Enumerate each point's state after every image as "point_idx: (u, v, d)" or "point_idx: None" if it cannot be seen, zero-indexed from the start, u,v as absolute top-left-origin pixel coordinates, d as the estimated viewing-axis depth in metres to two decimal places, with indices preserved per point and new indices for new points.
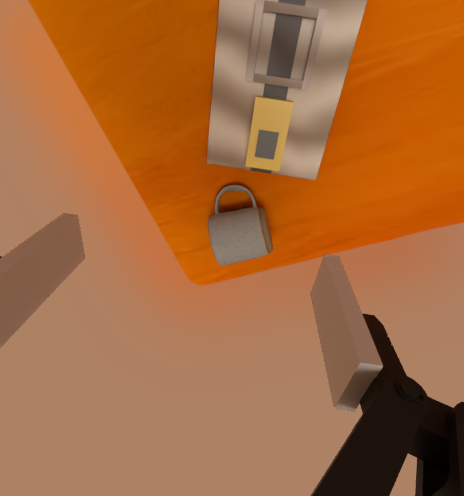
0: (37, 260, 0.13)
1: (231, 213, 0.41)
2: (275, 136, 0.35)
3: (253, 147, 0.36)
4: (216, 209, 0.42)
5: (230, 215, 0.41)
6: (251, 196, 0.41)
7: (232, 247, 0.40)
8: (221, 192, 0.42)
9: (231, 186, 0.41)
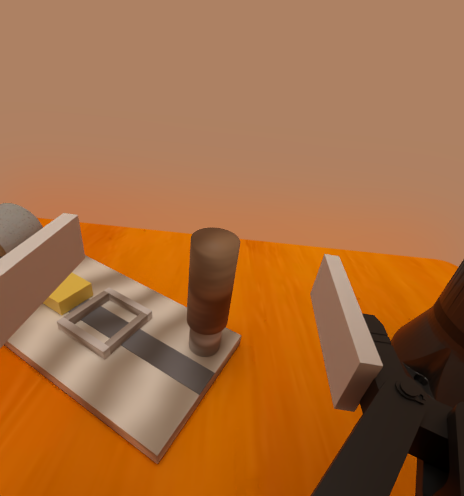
0: (37, 260, 0.13)
1: None
2: None
3: None
4: None
5: (27, 237, 0.42)
6: None
7: (0, 212, 0.41)
8: None
9: None
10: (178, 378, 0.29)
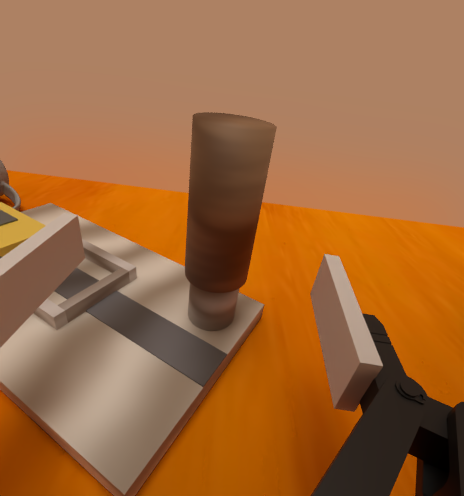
0: (37, 261, 0.13)
1: None
2: None
3: (7, 212, 0.28)
4: (7, 186, 0.35)
5: None
6: None
7: None
8: (17, 200, 0.34)
9: None
10: (170, 360, 0.19)
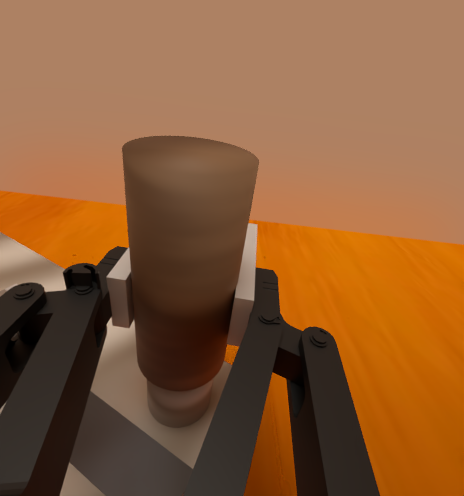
0: None
1: None
2: None
3: None
4: None
5: None
6: None
7: None
8: None
9: None
10: (111, 490, 0.13)
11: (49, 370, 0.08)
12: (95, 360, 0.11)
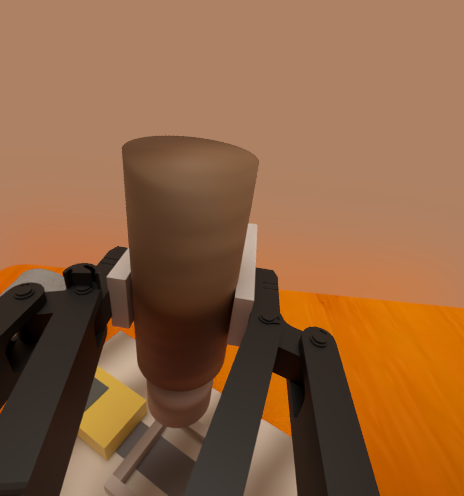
0: None
1: None
2: None
3: None
4: None
5: None
6: None
7: None
8: None
9: None
10: None
11: (49, 370, 0.08)
12: (95, 360, 0.11)
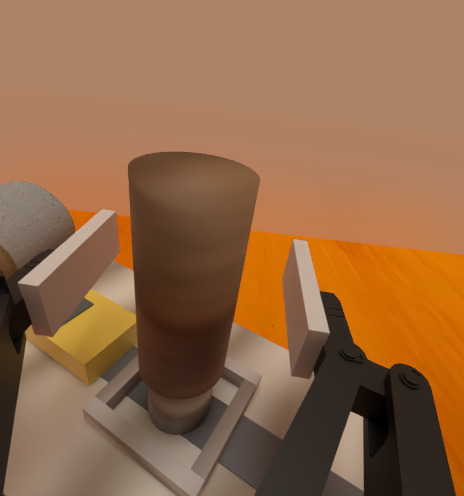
0: (85, 253, 0.13)
1: (51, 242, 0.26)
2: None
3: None
4: None
5: (50, 237, 0.26)
6: None
7: (7, 195, 0.24)
8: None
9: None
10: None
11: None
12: (17, 367, 0.10)
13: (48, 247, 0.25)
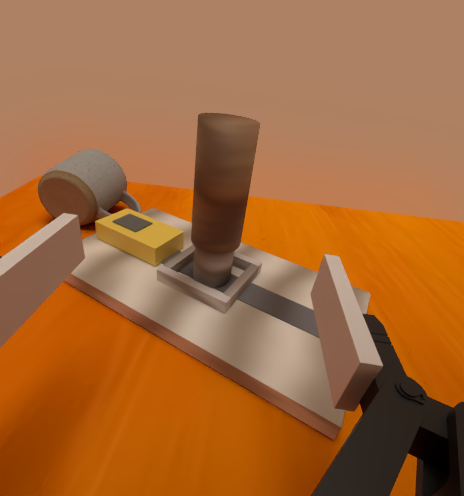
0: (37, 261, 0.13)
1: (114, 191, 0.37)
2: (134, 228, 0.29)
3: (138, 216, 0.32)
4: (127, 194, 0.39)
5: (114, 187, 0.36)
6: None
7: (86, 156, 0.35)
8: (138, 207, 0.38)
9: None
10: None
11: None
12: None
13: (112, 194, 0.36)
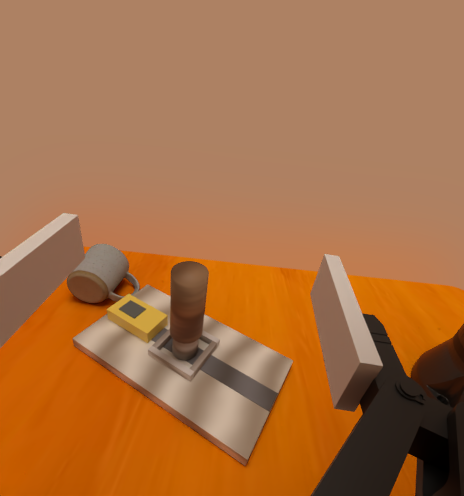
0: (37, 261, 0.13)
1: (120, 276, 0.51)
2: (133, 315, 0.43)
3: (136, 302, 0.46)
4: (129, 274, 0.53)
5: (120, 273, 0.50)
6: (119, 296, 0.49)
7: (100, 253, 0.49)
8: (137, 284, 0.52)
9: (136, 291, 0.51)
10: (250, 397, 0.37)
11: None
12: None
13: (119, 278, 0.50)
